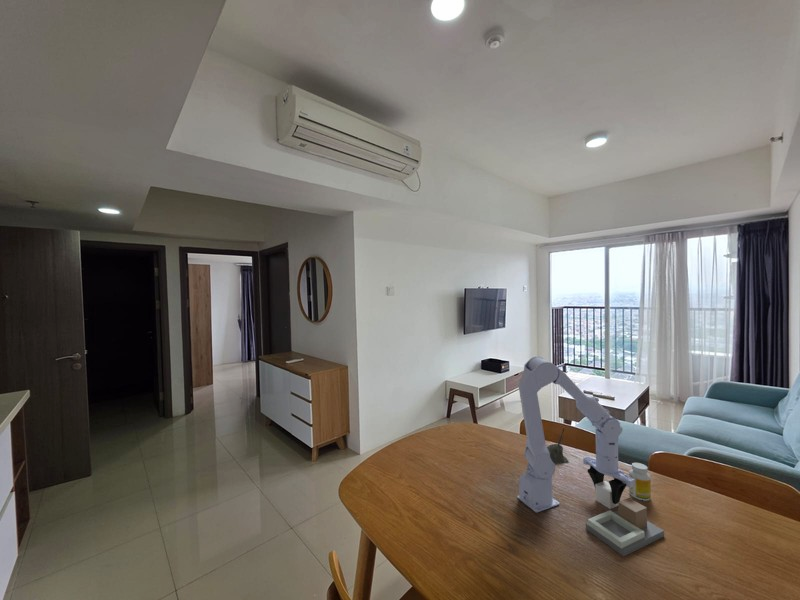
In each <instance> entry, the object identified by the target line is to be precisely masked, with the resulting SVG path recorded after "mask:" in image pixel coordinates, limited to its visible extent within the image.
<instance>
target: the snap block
mask: <svg viewBox="0 0 800 600" xmlns="http://www.w3.org/2000/svg"><path fill="white" fill-rule="evenodd" d="M594 489H595V501H596V502H598V503H600V504H601V505H603V506H604V507H606V508H608V509H609V510H611V509H614V508H616V507H618V503H617V504H614V503H613V502H612V491H611V487H610V484H609V481H607V480H603V482H600V483H597V484H595V486H594Z"/></svg>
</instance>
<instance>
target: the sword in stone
mask: <svg viewBox="0 0 800 600" xmlns="http://www.w3.org/2000/svg"><path fill="white" fill-rule="evenodd" d="M564 431H565V428H564V427H563V428H562V431H561V434H560V435H558V437H557V438H558V443H553V444H549V445H548V446H547V449H548V451H549V454H550V458H551V460H552V461H553V463H554V464H568V463H569V464H570V462H569V459H568V457H566V456H564V453H563V452H564V451H563V450H564V447H563V446H562V445H561V442H563V440H564V438H563V434H564Z"/></svg>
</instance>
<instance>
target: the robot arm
mask: <svg viewBox="0 0 800 600" xmlns="http://www.w3.org/2000/svg"><path fill="white" fill-rule="evenodd" d="M551 383H553V384H554V385H558V386H560V387H561V388H562V389H563V390H564V391H565V392H566V393H567V394H568V395H570V397H572V398H573V400H575V406H576V408H577V410H578V411H579V412H581V414H583V415H584V416H585V418H587V419H588V421H590V423H591V425H592V426H593V427H594V428H595V458H592V457H590V456H584V457H583V459H582V460H583V461H582V463H583V464H584V465H585V466H587V465H588V466H589V468H588V469H587V473H588V475H589V477H590V479H591V481H592V483H593V486H594V487H595V484H597V483H600V482H603V481H605V480H604V479H605V476H608V477H611V478H613V479H610V480H609V481H608V482H609V484H610V487H611V491H612V502H613V503H614V504H617V503H618V502H620V501H621V497H622V495H623V492H624V490H625V489H626V487H628V488H631V487H633V486H634V479H632V478H630V477H629V475H628V474H626V473H624V472H623V471H622V470H621V469H620V468H619V436H620V435H621V434H622V432H623V427H622V426H621V423H620V420H618V419H617V418H615V417H613V416H612V415H611V414H610V413H611V411H610V410H609V409H607V408H605V407H604V406H603V405H601V403H599V402H600V399H598V398H597V397H596V396H593V395H591V394H585V393H584V392H583V391H582V390H581V389H580V388H579V386H578V385H577V384H576V383H574V382H573V380H572V379H571V378H570V377H569V376H568V375H567V373H565V372H564V371H563V370H562V369H560V368H559V367H557V365H555V364H554V363H553V362H550V361H548V360H546V359H545V358H543V357H541V356H533V357H531V358H529V360H528V361H526V363H524V367H523V372H522V375H521V377H520V379H519V382H518V393H519V398H520V405H521V409H522V415H523V416H522V417H523V422H524V428H525V434H526V440H525V449H524V454H523V455H524V457H525V460H526V461H527V467H526V471H525V472H524V473H523V474H522V475H520V476H519V479H518V493H519V494H518V495H517V497H516V498H517V499H518V500H520V501H521V502H522V503H523V504H524V505H526V506H527V507H528V508H530V509H531V510H532V511H533V512H534V513H540V512H543V511H545V510H548V509H551V508H553V507H556V506H559V505H560V502H559V501H558V500H556V498H555V497H554V498H553V476H554V474H555V471H556V465H555V463H553V461H552V460H551V458H550V454H549V451H548V449H547V447H548V446H547V444H546V439H545V434H544V433H545V432H544V426H543V422H542V421H543V420H542V413H541V408H540V402H539V401H540V400H539V397H538V395H539V394H538V392H539V391H540V390H541V389H543V388H544V387H546V386H548V385H550V384H551Z"/></svg>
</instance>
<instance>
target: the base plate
mask: <svg viewBox="0 0 800 600" xmlns="http://www.w3.org/2000/svg"><path fill="white" fill-rule="evenodd" d="M617 507H618V510H615V511H613V510H611V509H609V510H607V511H605V512H603V513H600V514H597V515H595V516H592V517H590V518H587V522H586V523H585V529H586V531H588V532H590V533H591V534H592V535H594V536H595V537H596V538H598V539H599V540H600V541H602V542H603V543H605V544H606V545H607V546H609V547H610V548H611V549H613V550H614V551H616V553H618V554H620V555H621V556H622V557H626V556H628V555H630V554H632V553H634V552H636V551H637V550H640V549H642V548H643V547H647V545H650V544H652V543H654V542H656V541H658V540H660V539H662V538H664V537H665V530H664V529H662V528H660V527H659V526H658V525H655V524H653V523H652V522H650V521H649V520H648V508H647V506H645V505H643V504H641V503H639V502H637V501H635V500H634V499H632V498H630V497H627V498H625V499H623V500H620V502H618V506H617Z"/></svg>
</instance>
